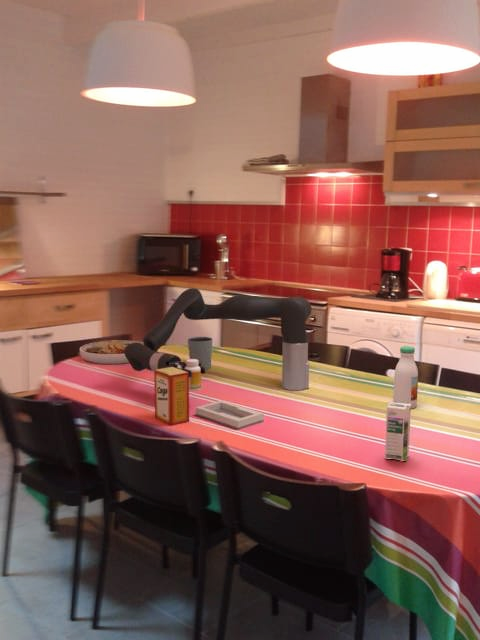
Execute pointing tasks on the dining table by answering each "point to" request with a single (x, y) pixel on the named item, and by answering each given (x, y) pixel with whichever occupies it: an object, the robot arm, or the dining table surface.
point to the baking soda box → (171, 395)
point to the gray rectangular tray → (229, 414)
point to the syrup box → (397, 431)
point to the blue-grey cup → (201, 350)
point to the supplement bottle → (194, 374)
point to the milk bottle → (406, 378)
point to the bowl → (106, 351)
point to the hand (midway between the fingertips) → (197, 372)
